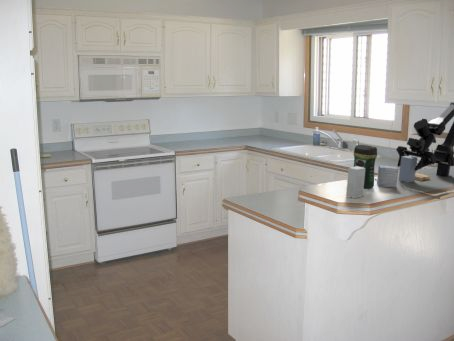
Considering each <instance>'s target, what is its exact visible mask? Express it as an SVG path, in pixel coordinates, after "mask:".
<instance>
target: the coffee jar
mask: <svg viewBox="0 0 454 341" xmlns="http://www.w3.org/2000/svg"><path fill="white" fill-rule="evenodd" d="M377 157H378V148H377V146H376V147H375V146H372V145H368V144H367V145H366V144H357V145H355V147H354V150H353V158H354V160H353V167H356V166H359V167H363V168H365V178H364V188H363V190H364V189H365V190H366V189H368V190H370V189H373V188H374V186H375V165H376V164H375V163H376V159H377Z"/></svg>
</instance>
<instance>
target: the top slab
mask: <svg viewBox="0 0 454 341" xmlns="http://www.w3.org/2000/svg"><path fill="white" fill-rule="evenodd" d="M430 177H431V176H430V175H425V174H423V173H418V172H415V180H414V181H418V180H419V182H424V181H423V180H425V181H428V180H430Z"/></svg>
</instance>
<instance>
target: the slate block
mask: <svg viewBox="0 0 454 341" xmlns="http://www.w3.org/2000/svg"><path fill="white" fill-rule="evenodd" d="M417 164H418V157H415V156H411V155H409V156H402V157H401V165H400V166H399V172H398V181H400V182H404V183H412V182H413V183H414V182H415V181H416V180H415V173H417V171H415V170H414V169H415V167H416V166H417Z"/></svg>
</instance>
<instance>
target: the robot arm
mask: <svg viewBox="0 0 454 341" xmlns="http://www.w3.org/2000/svg"><path fill="white" fill-rule="evenodd" d="M453 118H454V101H452V102H450V103H449V106H447V107H446V109H445V110H443V112H442V113H441V114H440V115H439V116H438V117H436V118H433V119H431V120H430V121H428V119H427V118H422V119H420V120H418V121H416V122H414V123H413V128H414V130H415V132H416V134H417V136H418V137H420V138H419V139H417V138H412V137H408V139H407V142H406V145H407V146H409V149H410V150H409V149H408V147H407V146H402V145H399V146H397V148H396V149H395V150H396V152H397V153H398V161H397V165H396V167H397V168H400V165H401V157H402V156H412V157H417V158H420V160H419V161H418V162H417V165H416V167H415V169H414V170H415V171H416V172H417V171H418V170H421V169H422V168H425V167H428V166H431V165H435V164H437V168H436V172H435V175H436V176H438V177H451V178H452V177H453V176H452V175H450V173H451V167H454V121H453V122H452V124H451V126H450V128H449V130H448V132H447V135H446V137H445V139H444V141H443V142H442V143H441V144H437V145H436V148H435V149H434V152H432V151H430V147H431V145H432V144H436V143H437V139H436V137H435V135H436V136H441V135H442V134H444V131H445V130H446V126H447V124H448V123H449V122H450V121H451V120H452V119H453Z"/></svg>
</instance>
